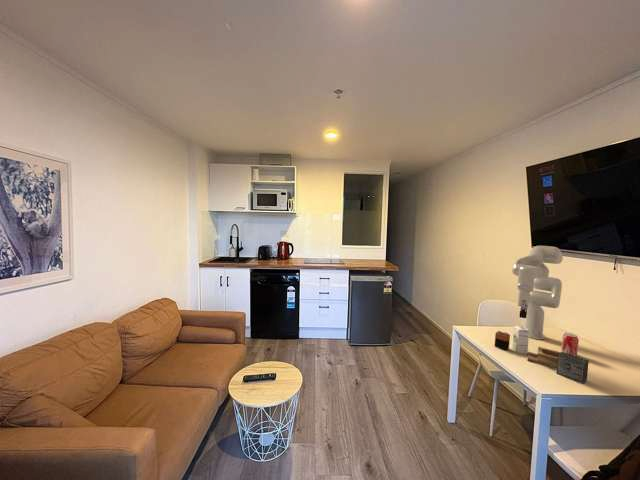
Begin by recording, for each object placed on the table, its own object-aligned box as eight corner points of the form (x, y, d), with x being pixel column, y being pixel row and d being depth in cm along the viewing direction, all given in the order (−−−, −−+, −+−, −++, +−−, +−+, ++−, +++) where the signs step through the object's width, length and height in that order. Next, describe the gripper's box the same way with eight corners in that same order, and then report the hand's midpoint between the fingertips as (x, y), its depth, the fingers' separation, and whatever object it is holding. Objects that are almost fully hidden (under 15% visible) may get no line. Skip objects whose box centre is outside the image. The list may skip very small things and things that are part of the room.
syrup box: (527, 354, 160) (529, 330, 159) (516, 352, 161) (518, 329, 160) (522, 349, 165) (524, 326, 164) (512, 348, 167) (513, 325, 166)
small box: (587, 380, 134) (589, 359, 133) (583, 384, 131) (585, 363, 130) (560, 370, 143) (562, 350, 142) (555, 373, 139) (557, 354, 139)
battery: (507, 350, 163) (508, 334, 163) (494, 346, 168) (495, 331, 168) (509, 348, 166) (510, 332, 166) (496, 344, 171) (497, 329, 171)
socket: (528, 353, 160) (528, 344, 160) (574, 365, 148) (574, 355, 147) (527, 360, 152) (528, 351, 151) (576, 374, 139) (577, 363, 139)
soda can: (560, 350, 166) (562, 331, 165) (575, 353, 162) (577, 334, 161) (562, 354, 160) (563, 335, 159) (578, 358, 156) (580, 338, 155)
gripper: (518, 284, 169) (516, 310, 170) (516, 289, 156) (514, 318, 157) (533, 286, 164) (531, 313, 166) (533, 291, 151) (530, 321, 152)
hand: (523, 315), depth 161 cm, fingers open, 9 cm apart
